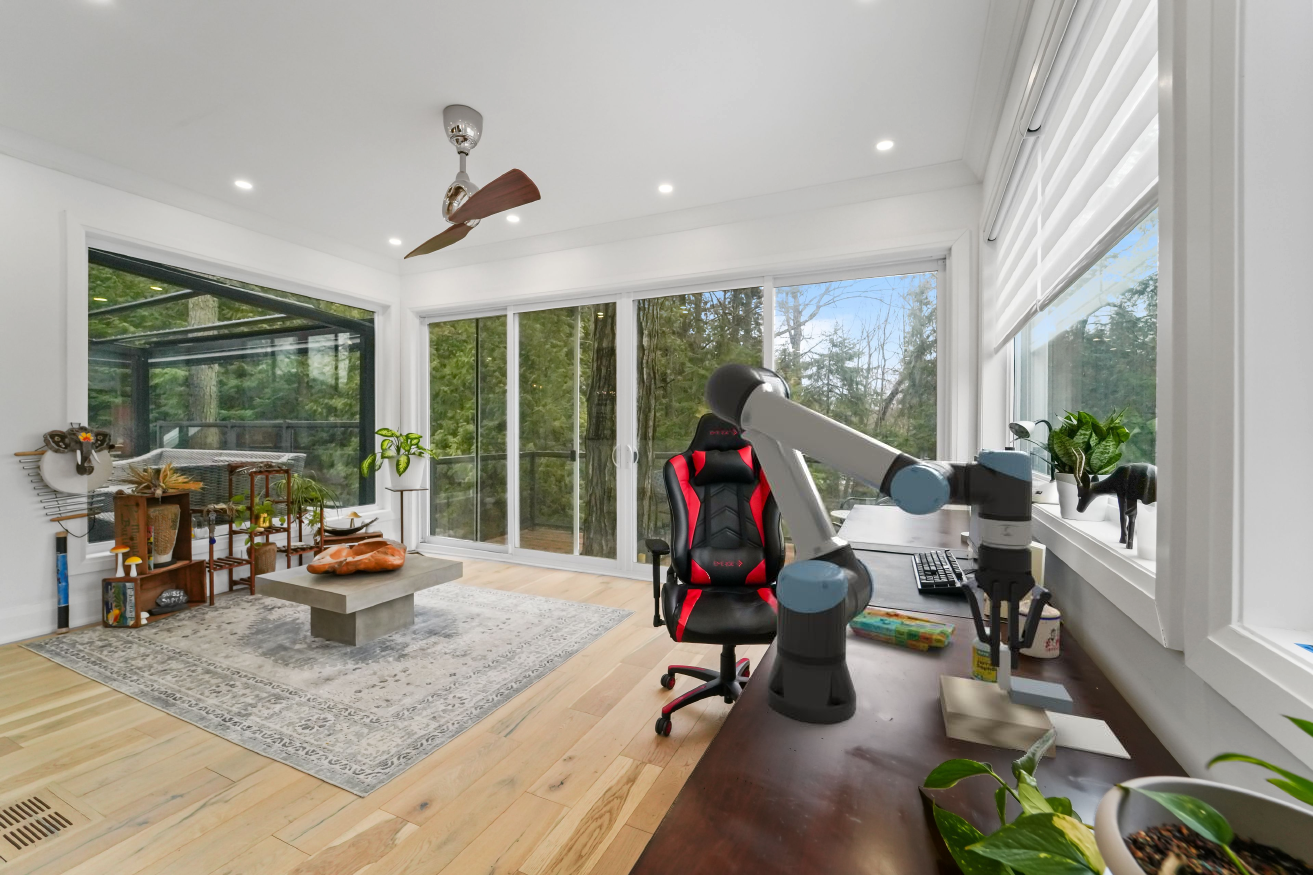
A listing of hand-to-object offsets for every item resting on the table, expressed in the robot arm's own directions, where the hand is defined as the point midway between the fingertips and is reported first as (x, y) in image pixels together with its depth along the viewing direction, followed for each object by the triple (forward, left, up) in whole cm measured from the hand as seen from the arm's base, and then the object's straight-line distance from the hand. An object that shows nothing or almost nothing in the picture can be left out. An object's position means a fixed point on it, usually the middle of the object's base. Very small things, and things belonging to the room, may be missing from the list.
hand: (1003, 686), depth 92 cm
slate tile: (+5, 0, -1) cm, 5 cm away
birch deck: (-2, -3, -5) cm, 6 cm away
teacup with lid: (+12, +37, -6) cm, 39 cm away
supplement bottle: (0, +15, -6) cm, 16 cm away
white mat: (+10, 0, -5) cm, 11 cm away
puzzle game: (-15, +32, -6) cm, 36 cm away
